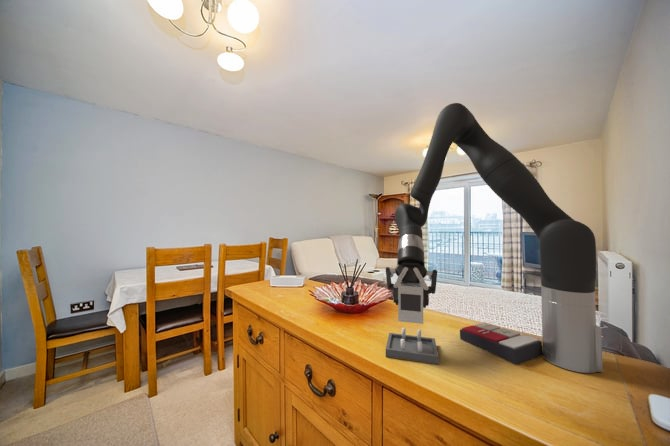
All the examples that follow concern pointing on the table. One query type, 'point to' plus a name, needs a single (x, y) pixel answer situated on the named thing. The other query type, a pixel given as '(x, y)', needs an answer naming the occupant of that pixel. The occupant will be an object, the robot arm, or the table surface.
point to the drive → (410, 302)
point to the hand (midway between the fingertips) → (410, 304)
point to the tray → (412, 347)
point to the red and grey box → (502, 342)
